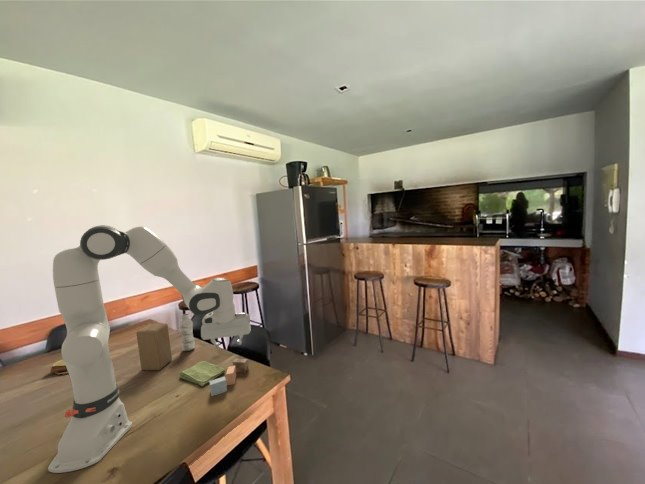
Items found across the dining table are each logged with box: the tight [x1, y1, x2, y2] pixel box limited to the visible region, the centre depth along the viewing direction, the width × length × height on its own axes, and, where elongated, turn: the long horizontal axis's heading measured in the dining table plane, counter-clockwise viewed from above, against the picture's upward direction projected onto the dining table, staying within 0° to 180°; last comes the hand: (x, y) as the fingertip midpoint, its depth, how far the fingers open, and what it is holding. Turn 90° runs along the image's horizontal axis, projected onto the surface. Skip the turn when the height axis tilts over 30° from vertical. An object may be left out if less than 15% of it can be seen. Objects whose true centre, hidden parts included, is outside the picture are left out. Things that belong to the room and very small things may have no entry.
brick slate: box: [208, 375, 228, 397], centre depth 113 cm, size 6×3×5 cm, turn 119°
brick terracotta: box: [225, 365, 237, 386], centre depth 120 cm, size 6×3×5 cm, turn 9°
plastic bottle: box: [179, 313, 196, 352], centre depth 151 cm, size 6×7×20 cm
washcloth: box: [179, 360, 226, 387], centre depth 126 cm, size 13×18×3 cm
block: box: [136, 322, 173, 371], centre depth 137 cm, size 10×10×20 cm
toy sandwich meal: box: [50, 359, 69, 375], centre depth 140 cm, size 12×14×5 cm
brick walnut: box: [232, 358, 249, 373], centre depth 128 cm, size 6×3×5 cm, turn 79°
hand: (228, 345), depth 119 cm, fingers open, 8 cm apart
